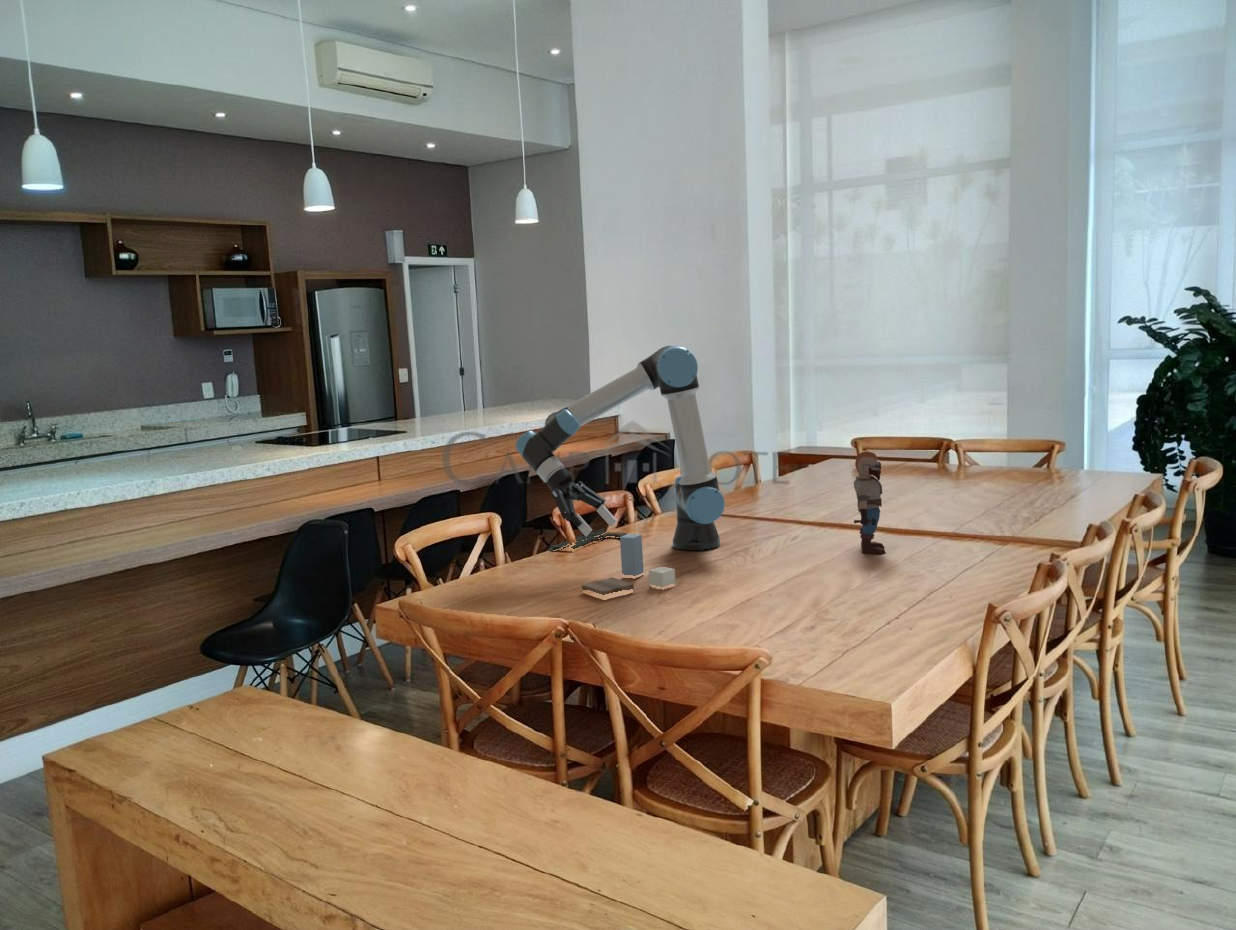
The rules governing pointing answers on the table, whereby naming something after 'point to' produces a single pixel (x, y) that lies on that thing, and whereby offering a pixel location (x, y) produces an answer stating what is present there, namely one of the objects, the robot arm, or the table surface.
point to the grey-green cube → (662, 576)
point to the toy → (868, 500)
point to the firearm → (589, 539)
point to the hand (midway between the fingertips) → (601, 528)
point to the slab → (608, 586)
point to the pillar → (631, 554)
